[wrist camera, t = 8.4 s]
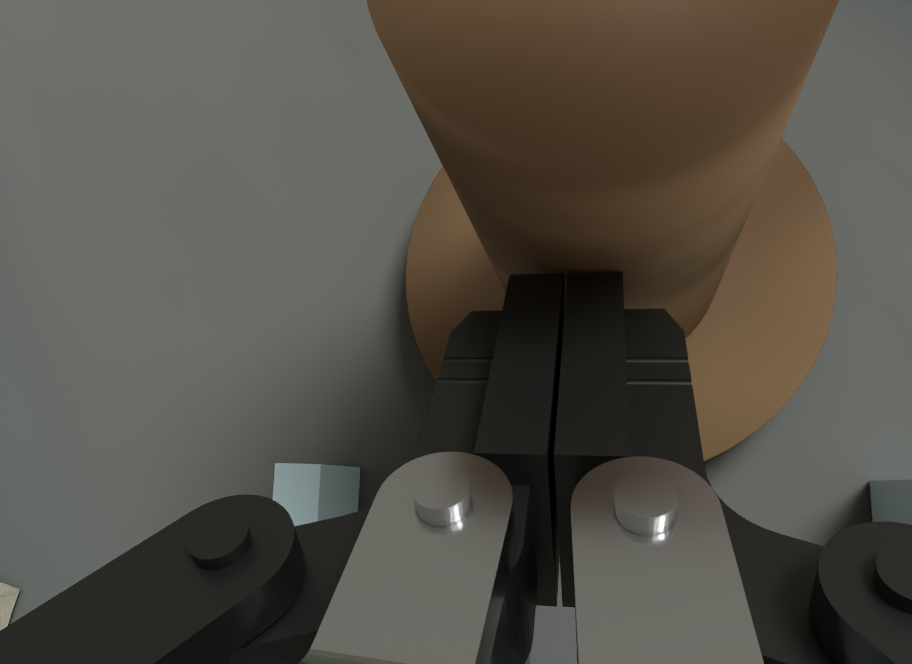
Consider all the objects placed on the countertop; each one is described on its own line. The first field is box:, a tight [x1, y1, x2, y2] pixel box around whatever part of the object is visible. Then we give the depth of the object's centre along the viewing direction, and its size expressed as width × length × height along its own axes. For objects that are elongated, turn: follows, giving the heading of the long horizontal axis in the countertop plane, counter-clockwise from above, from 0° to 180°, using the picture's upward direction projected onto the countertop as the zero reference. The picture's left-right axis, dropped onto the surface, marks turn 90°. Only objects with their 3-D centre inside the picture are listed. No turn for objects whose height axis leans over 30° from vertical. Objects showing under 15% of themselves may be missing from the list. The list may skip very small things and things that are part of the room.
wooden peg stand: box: [367, 0, 839, 462], centre depth 12 cm, size 9×9×11 cm
